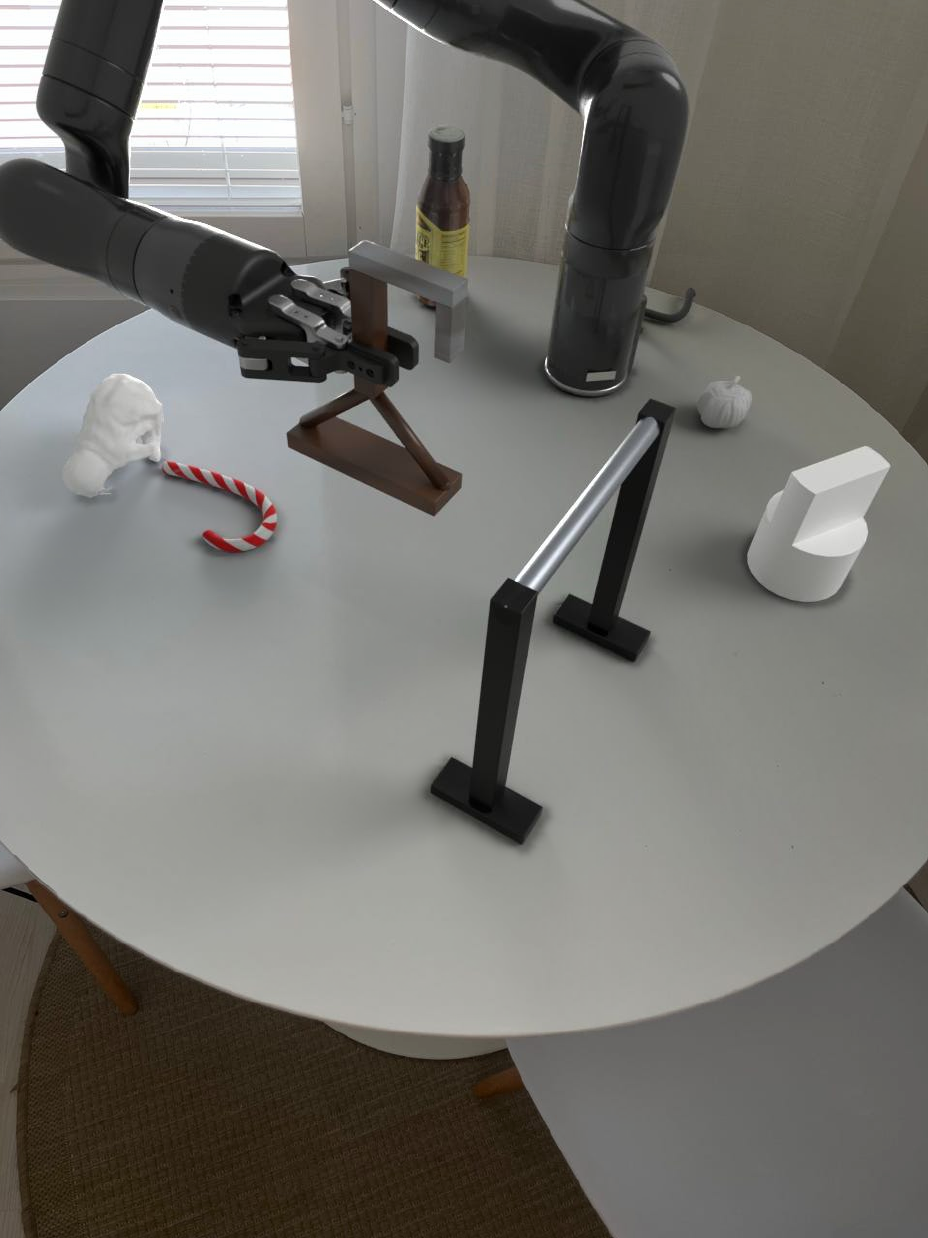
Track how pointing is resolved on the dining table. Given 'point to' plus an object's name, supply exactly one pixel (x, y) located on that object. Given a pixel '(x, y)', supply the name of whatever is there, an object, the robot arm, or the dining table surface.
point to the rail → (556, 622)
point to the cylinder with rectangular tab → (816, 526)
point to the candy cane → (237, 488)
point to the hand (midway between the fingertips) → (405, 364)
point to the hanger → (362, 451)
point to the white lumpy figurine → (114, 433)
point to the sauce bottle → (443, 205)
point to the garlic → (724, 404)
